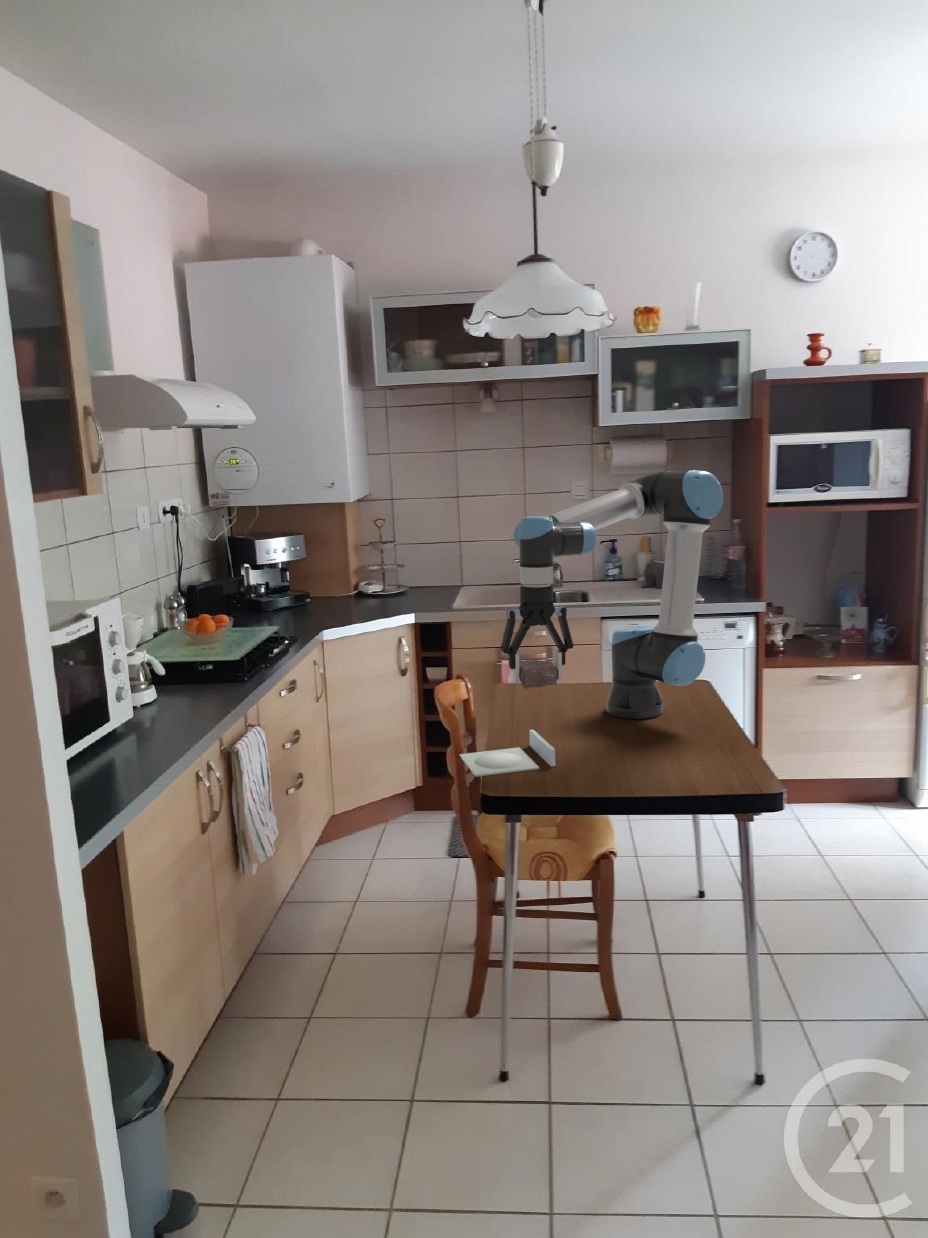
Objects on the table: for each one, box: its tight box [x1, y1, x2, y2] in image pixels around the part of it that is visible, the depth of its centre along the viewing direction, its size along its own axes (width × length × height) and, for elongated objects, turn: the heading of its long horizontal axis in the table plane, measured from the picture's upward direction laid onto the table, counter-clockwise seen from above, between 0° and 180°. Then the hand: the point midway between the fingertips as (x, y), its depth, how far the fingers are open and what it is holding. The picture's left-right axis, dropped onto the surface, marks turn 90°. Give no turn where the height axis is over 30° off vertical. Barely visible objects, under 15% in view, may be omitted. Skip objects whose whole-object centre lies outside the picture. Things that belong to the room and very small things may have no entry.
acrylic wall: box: [528, 729, 556, 767], centre depth 218 cm, size 1×16×4 cm, turn 13°
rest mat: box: [459, 747, 540, 778], centre depth 214 cm, size 15×15×1 cm
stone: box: [519, 659, 558, 690], centre depth 214 cm, size 12×9×5 cm
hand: (537, 680), depth 214 cm, fingers closed on stone, 9 cm apart
